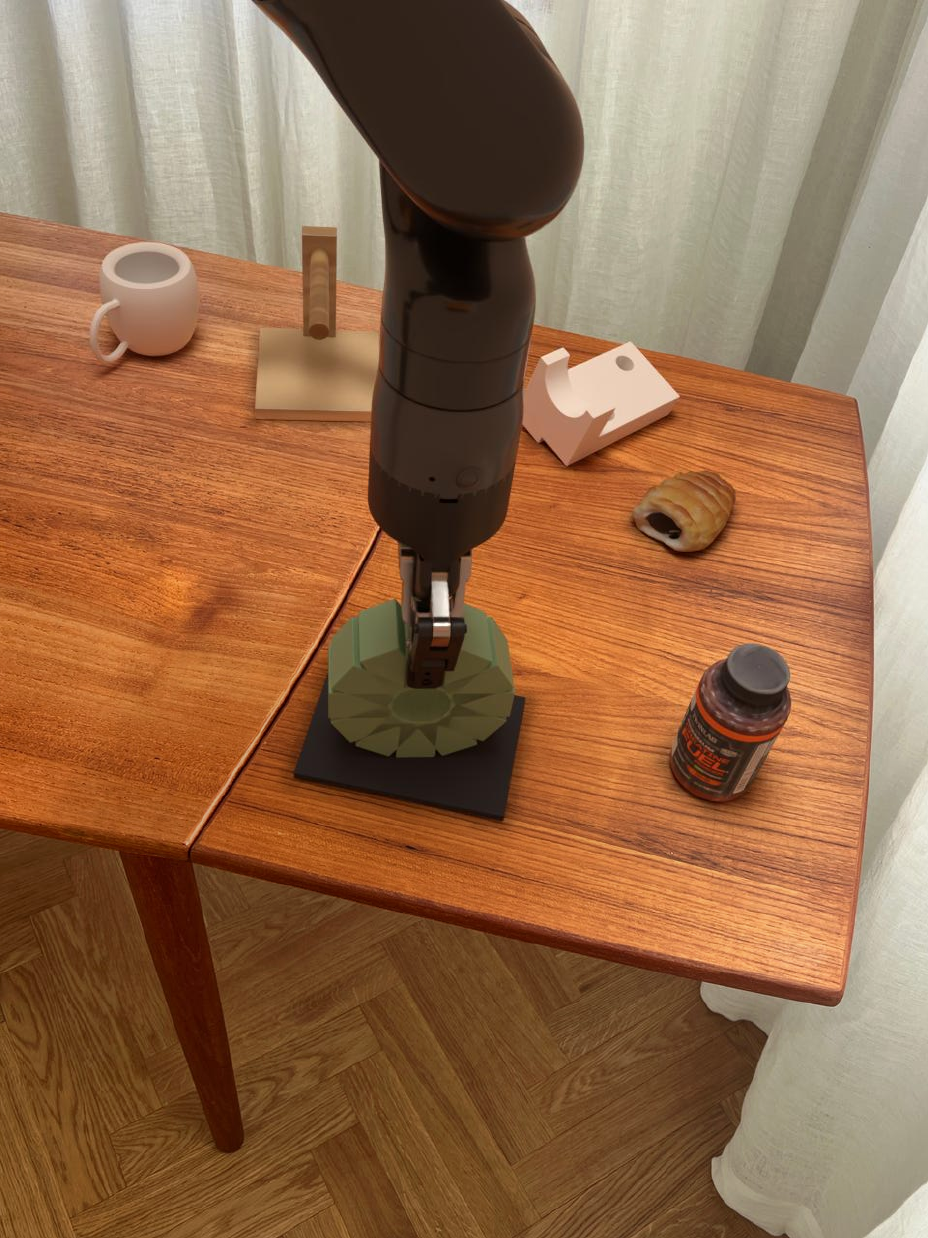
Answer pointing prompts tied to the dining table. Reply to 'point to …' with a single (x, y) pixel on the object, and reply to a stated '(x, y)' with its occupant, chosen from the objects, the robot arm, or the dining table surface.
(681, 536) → the pastry
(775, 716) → the supplement bottle
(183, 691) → the dining table surface
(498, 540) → the dining table surface
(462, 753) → the mat
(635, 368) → the bracket
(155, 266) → the mug
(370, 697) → the green grooved wheel
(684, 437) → the dining table surface
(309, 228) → the peg stand with base
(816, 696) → the dining table surface
